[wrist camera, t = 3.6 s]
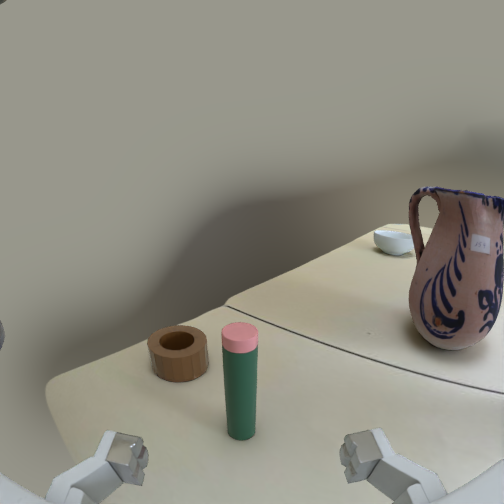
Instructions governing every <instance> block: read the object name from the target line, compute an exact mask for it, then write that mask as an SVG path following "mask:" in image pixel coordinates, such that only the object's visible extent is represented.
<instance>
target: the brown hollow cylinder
mask: <svg viewBox="0 0 504 504" xmlns="http://www.w3.org/2000/svg"><path fill="white" fill-rule="evenodd" d="M147 345H148V350H149V355H150V359H151V364H152V367H153V370H154V372H155V374H156V375H157V376H159V377H160V378H162V379H164V380H167V381H172V382H186V381H190V380H193V379H196V378H198V377H200V376H201V375H202V374H203V373H205V371H206V370H207V368H208V364H209V362H208V350H207V339H206V336H205V334H204V333H203V332H202V331H200V330H199V329H197V328H194V327H191V326H183V325H178V326H170V327H166V328H162V329H160V330H157V331H156V332H154V333H153V334H152V335H151V336H150V337H149V338H148V343H147Z"/></svg>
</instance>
